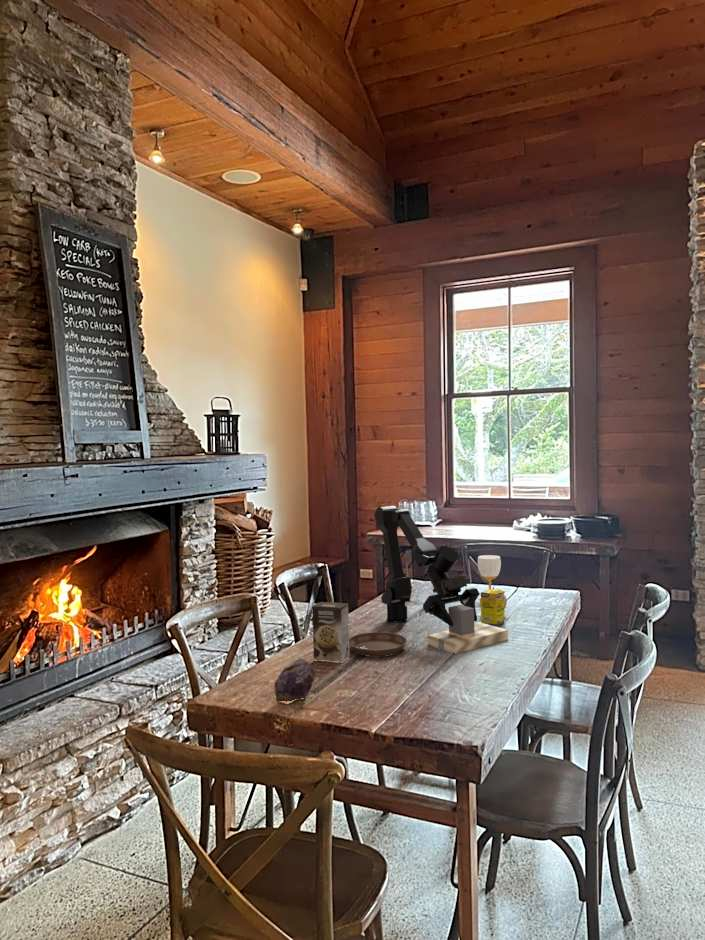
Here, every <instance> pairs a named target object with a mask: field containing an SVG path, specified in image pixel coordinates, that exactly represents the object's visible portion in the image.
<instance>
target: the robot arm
mask: <svg viewBox="0 0 705 940" xmlns="http://www.w3.org/2000/svg"><path fill="white" fill-rule="evenodd" d="M373 516H374V519H375V522H376V527H378V530H380V531H381V533H382V537H383V545H384V551H385V557H386V563H387V569H388V571H387V572H388V576H387V578H386V582H385V591H384V592H383V594H382V595H381V599H380V600H381V602H382V604H383V605H386V617H387V618H386V622H387V623H406V622H407V619H408V606H407V605H406V603H409V602H410V600H411V596H412V592H413V591H412V590H413V586H412V581H411V577H410V576H407V575H406V574H405V573H404V570H403V569H404V568H403V562H402V555H401V554H402V553H401V550H400V549H401V548H400V541H399V536H398V529H399V528H400V530H401V532H402V533H403V535H404V537H405V538H406V540H407V541H408V543H409V545H410V546H411V549H412V555H411V556H412V558H413V560H414V561H415V564H416V566H418V567H427V569H424V571H423V575H422V578H423V579H429V581H430V583H431V586H432V587H433V589H432V592H433V595H432V594H431V595H428V596H427V598H426V599H425V601H424V603H423V604H422V610H423V612H424V613H425V614H428V613H429V615H432V616H434V617H436V618H438V619H439V620H441V621H442V622H444V623H445V624H447V625H448V627H449V626H451V627H452V626H453V625H454V624H453V622H452V620H451V618H450V616H449V614H448V610H447V609H446V604H451V603H457V602H460V605H464V606H467V607H471V608H474V623H475V622H476V623H477V620H478V616H477V610H476V601H477V599H478V597H480V596H481V592H479V590H478V588H476V587H471V588H465V590H464V591H463V592H462V593H461V591H462V589H461V588H464V587H468V584H470V582H471V581H470V577H469V576H468V574H467V573H462V574H461V573H460V574H459V575H458V576H455V577H449V575H448V572H450V571H451V570H452V569H453V567H454V566H455V564H456V563H457V562H458V561H459V558H460V557H459V553H458V552H457V551H456V550H455V549H453V548H452V547H449V546H448V544H442V545H441V546H440V547H439V549H437V547H436V546H435V545H434V544H433V543H432V542H430V541H428V540H427V539H425V537H424V536H423V533H421V531H420V529H419V528H418V525H417V524H416V523H415V521H414V520H413V518H412V517H411V513H410V511H409V509H406V508H398V507H397V506H396V505H386V506H379V507H377V509H375V511H374V515H373ZM435 593H436V594H435ZM459 593H461V594H459Z"/></svg>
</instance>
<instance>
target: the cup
mask: <svg viewBox="0 0 705 940" xmlns="http://www.w3.org/2000/svg"><path fill="white" fill-rule="evenodd" d="M501 566H502V561H501V556H499V555H496V554H495V555H494V554H493V555H492V554H485V555H483V554H482V555H478V557H477V568H478V572H479V574H480V576H481V577H482V578H483V579H485V580H487V581H488V589H492V581H493V580H494V579H496V578H497V577H498V576H499V573H500V572H501Z"/></svg>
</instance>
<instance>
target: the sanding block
mask: <svg viewBox="0 0 705 940" xmlns="http://www.w3.org/2000/svg"><path fill="white" fill-rule="evenodd" d="M447 609H448V610H447V612H448V614H449V616H450V618H451V620H452V622H453V624H454V625H453V626H452V627H451V626H449V625H448V630H449V633H450V634H453V635H456V636H459V637H466V636H471V635H475V629H474V624H475V621H474V608H471V607H467V606H464V605H462V604H457V605H453V606H448V607H447Z"/></svg>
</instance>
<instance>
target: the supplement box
mask: <svg viewBox="0 0 705 940" xmlns="http://www.w3.org/2000/svg"><path fill="white" fill-rule="evenodd" d="M501 590H502V589H499V590H496V589H494V590H493V588H491V589H489V588H488V589H486V590H484V591H480V596H481V604H480V620H481V621H480V623H484V624H488V625H492V626H495V627H499V626H500V625H502V624H505V609H504V595H505V593H504V592H505V591H504V590H502V591H501Z"/></svg>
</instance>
